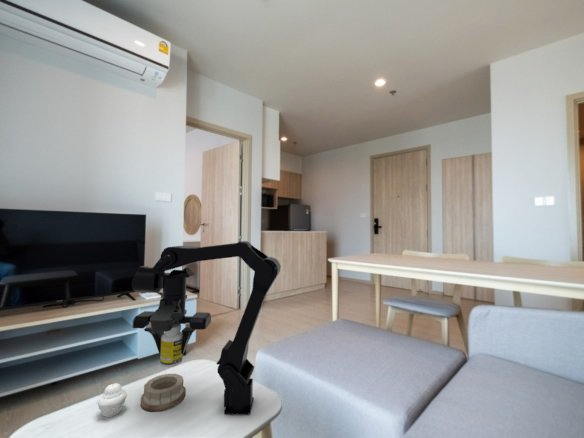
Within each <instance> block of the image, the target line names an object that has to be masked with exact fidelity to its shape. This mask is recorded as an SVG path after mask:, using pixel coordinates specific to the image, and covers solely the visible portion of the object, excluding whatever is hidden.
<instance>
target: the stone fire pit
mask: <svg viewBox="0 0 584 438" xmlns="http://www.w3.org/2000/svg"><path fill="white" fill-rule="evenodd" d="M184 381H185V380H184V377H183V375H180V374H179V373H164V374H161V375H156V376H154V377H153V378H151V379H149V380H147V382H145V383H144V385H143V394H142V395H141V397H140V408H141V409H142V410H144V411H145V412H148V413H160V412H164V411H167V410H171V409H173V408H175V407H177V406H179V405H180V404H181V403H182V402H184V401H185V398H186V395H187V394H186V393H187V392H186V391H187V389H186V387H185V386H184V384H185V383H184Z"/></svg>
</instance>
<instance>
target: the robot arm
mask: <svg viewBox="0 0 584 438" xmlns="http://www.w3.org/2000/svg"><path fill="white" fill-rule="evenodd" d="M228 258H240V259H241V260H242V261H243V262H244V263H245V264H246V266H248V267H249V268H250V269H251V270H252V271H253V273H254V275H253V280H252V290H251V293H250V296H249V299H248V301H247V303H246V306H245V308H244V309H245V310H244V312H243V315H242V316H241V319H240V322H239V325H238V327H237V330H236V332H235V335H234V338H233V340H231V339H228V340H227V342H226V343H225V344H224V346H223V347H222V349H221V352H220V357H219V359H218V361H217V362H216V364H215V365H218V366H217V373H218V375H219V378H220V379H221V380H222V382H223V386H224V391H223V393H224V394H223V408H224V412H223V414H224V415H248V416H249V415H251V413H252V409H253V403H254V400H255V399H254V398H255V397H253V391H254V389H253V387H254V386H253V385H254V384H253V383H254V379H253V378H251V376H252V375H253V373H254V370H255V366H254V365H253V364H252V363H251V361H249V359H248V353H249V342H250V339H251V336H252V334H253V332H254V329H255V326H256V323H257V321H258V318H259V315H260V313H261V310H262V308H263V305H264V302H265V300H266V296H267V294H268V293H269V291H270V288H272V286H273V284H274V283H275V280H276V279H277V278H278V276H279V274H280V272H281V267H282V266H281V264H280V261H279V260H278V259H277V258H275V257H272V256H268V255H267V254H266V253H265V252H263V251H261V250H260V249H258V248H256V247H255V246H254V245H253V244H251V242H249V241H246V240H242V241H238V242H231V243H226V244H218V245H217V244H216V245H209V246H192V245H176V246H175V245H174V246H169V247H166V248H164V249H163V250H162V252H161V254H160V257H159V259H158V260H157V261H156V263H155V264H154V266H145V265H141V266H138V267H137V271H136V273H134V276H133V277H132V279H131V288H132V291H134V292H136V293H154V294H155V293H156V294H157V293H159V292H160V291H161V290H162V298H160V300H159V304H158V308H157V309H156V310H155V311H153V310H152V311H149V310H148V311H147V310H145V311H142V312H141V313H139V314H137V315H136V316H134V317H133V320H132V325H131V326H132V327H131V328H132V329H143V331H144V332H148V333H149V334H151V336H152V338H153V340H154V343H155V346H156V348H157V351H158V353H159V354H161V337H162V335H163V334H164V333H165V331H170V330H171V329H172V328H173V325H179V324H181V325H184V328H183V329H181V332H182V334H183V337H182V346H181V354H183V355H184V353H185V352H186V349H187V346H188V344H189V342H190V339H191V338H192V335H193V333H194V332H195V331H196V330H200V331H201V330H206V329H207V328H208V327H209V325H210V324H211V323H212V315H211V314H210V312H203V311H202V312H199V311H197V312H196V313H194V314H193V315H192V316H191V315H186V314H187V312H188V311H187V309H186V300H187V299H188V294H187V278H190V277H194V276H195V272H194V271H192V270H191V269H190V267H189V266H187V265H191V264H195V263H199V262H205V261H211V260H221V259H228ZM185 266H187V267H185ZM181 267H184V268H183V269H179V268H181ZM166 271H170V272H166Z"/></svg>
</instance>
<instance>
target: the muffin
mask: <svg viewBox="0 0 584 438" xmlns="http://www.w3.org/2000/svg"><path fill="white" fill-rule="evenodd" d="M127 396H128V394H127V391H126V390H125V389H123V388H122V385H121V384H120V383H116V382H115V383H112V384H109V385H107V386H106V387H105V388H104V391H103V393H102V394H101V396H99V398H98V400H97V403H96V404H97V407H98V410H100V412H101V414H102V415H103V416H104V418H111V417H115V416H117V415H118V414H119V413H120V412H121V410H122V408H123V405H124V404H125V402H126V399H127V398H128V397H127Z"/></svg>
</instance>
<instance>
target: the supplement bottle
mask: <svg viewBox="0 0 584 438" xmlns="http://www.w3.org/2000/svg"><path fill="white" fill-rule="evenodd" d="M182 337H183V334H182V324H179V325H173V328H172V329H171V330H170V331H164V334H163V335H162V337H161V353H160V359H159V361H160V362H159V363H160V366H161V367H163V368H173V367H176V366H178V365H180V364H181V363H182V362H183V357H184V353H183V354H181V346H182Z"/></svg>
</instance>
